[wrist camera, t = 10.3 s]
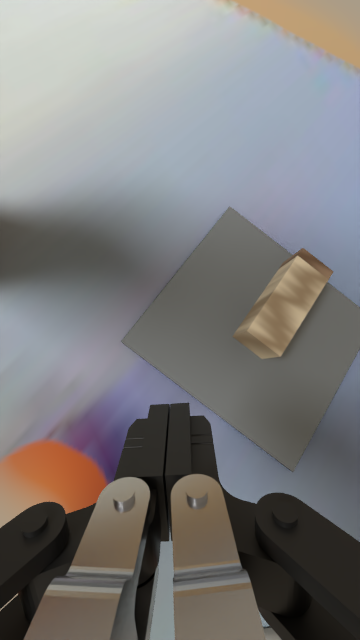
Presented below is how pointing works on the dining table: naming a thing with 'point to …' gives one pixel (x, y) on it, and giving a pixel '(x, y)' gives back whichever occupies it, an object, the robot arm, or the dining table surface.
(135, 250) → the dining table surface
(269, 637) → the flask
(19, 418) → the dining table surface
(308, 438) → the rubber mat
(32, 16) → the dining table surface
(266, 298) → the maple block
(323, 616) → the robot arm
